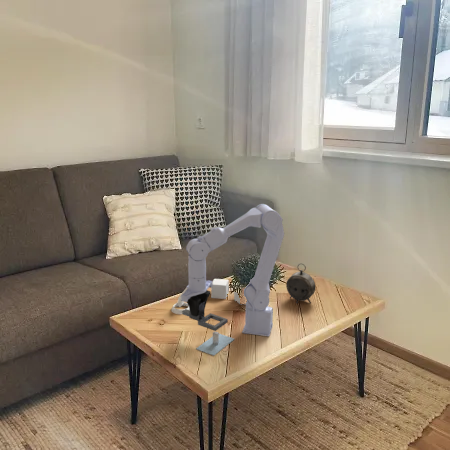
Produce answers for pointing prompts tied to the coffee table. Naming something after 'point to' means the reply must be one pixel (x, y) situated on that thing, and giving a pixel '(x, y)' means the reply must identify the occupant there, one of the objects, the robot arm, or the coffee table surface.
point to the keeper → (215, 343)
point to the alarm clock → (301, 286)
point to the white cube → (219, 288)
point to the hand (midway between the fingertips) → (197, 313)
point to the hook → (179, 305)
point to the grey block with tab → (202, 319)
